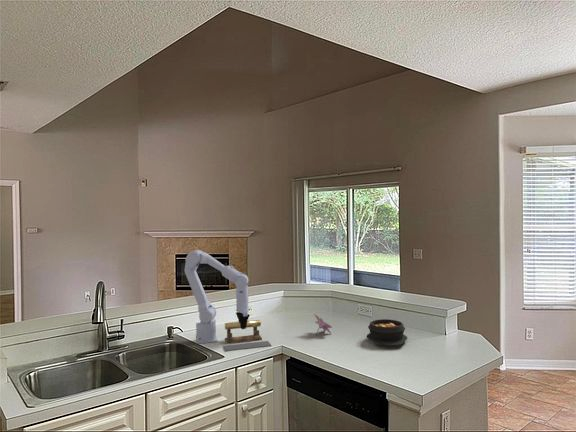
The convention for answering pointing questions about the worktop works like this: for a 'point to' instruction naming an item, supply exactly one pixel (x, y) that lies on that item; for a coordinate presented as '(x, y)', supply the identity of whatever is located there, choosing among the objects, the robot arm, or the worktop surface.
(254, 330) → the hook stand
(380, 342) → the casserole
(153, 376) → the worktop surface
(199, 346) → the worktop surface
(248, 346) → the mat
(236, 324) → the rail
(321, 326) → the lily
